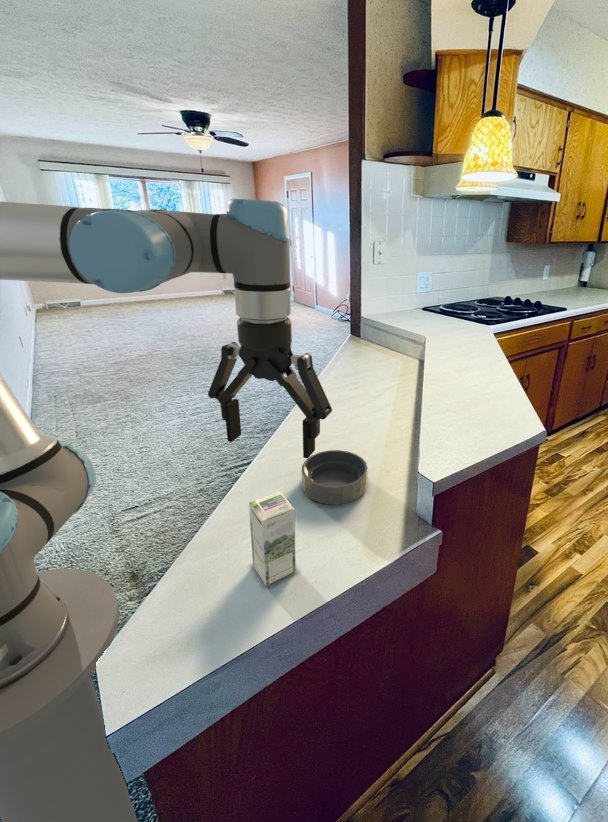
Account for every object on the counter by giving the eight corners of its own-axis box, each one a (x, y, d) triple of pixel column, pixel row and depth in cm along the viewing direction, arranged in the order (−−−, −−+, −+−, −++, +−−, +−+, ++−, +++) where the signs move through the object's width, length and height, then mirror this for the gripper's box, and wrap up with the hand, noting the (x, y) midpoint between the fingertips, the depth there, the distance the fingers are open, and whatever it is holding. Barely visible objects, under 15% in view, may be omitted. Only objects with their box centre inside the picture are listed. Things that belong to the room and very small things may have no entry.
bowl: (301, 508, 89) (301, 489, 87) (302, 468, 103) (302, 451, 101) (370, 504, 92) (371, 485, 90) (362, 465, 106) (363, 449, 104)
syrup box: (282, 552, 77) (279, 488, 72) (296, 573, 73) (295, 507, 68) (252, 566, 74) (247, 500, 68) (266, 588, 70) (261, 520, 64)
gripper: (355, 322, 59) (351, 449, 67) (207, 303, 65) (219, 422, 73) (335, 334, 52) (333, 474, 60) (172, 312, 58) (190, 442, 66)
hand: (271, 445), depth 67 cm, fingers open, 13 cm apart
